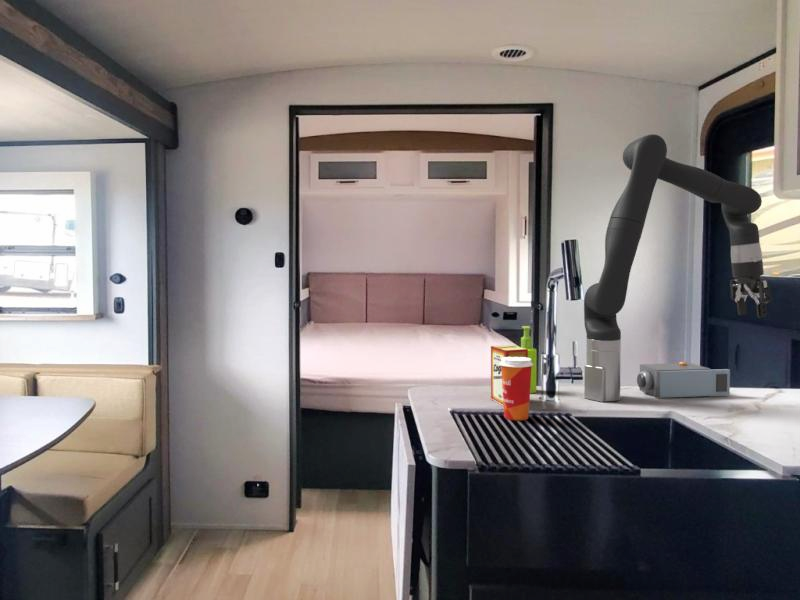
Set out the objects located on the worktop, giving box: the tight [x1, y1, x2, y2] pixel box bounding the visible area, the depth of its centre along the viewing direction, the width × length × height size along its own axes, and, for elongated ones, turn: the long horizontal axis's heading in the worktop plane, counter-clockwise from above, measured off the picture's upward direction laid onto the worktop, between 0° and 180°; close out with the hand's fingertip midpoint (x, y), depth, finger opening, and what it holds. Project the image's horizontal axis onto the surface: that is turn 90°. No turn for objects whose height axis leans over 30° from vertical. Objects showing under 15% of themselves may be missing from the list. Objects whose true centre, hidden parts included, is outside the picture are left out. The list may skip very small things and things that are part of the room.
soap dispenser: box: [520, 325, 538, 394], centre depth 168 cm, size 6×7×20 cm
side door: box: [654, 368, 731, 399], centre depth 157 cm, size 2×22×7 cm, turn 95°
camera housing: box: [636, 361, 712, 399], centre depth 163 cm, size 10×18×9 cm, turn 95°
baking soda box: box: [490, 344, 528, 404], centre depth 153 cm, size 10×6×16 cm
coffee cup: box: [500, 357, 533, 421], centre depth 138 cm, size 8×8×15 cm
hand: (752, 315), depth 157 cm, fingers open, 8 cm apart
